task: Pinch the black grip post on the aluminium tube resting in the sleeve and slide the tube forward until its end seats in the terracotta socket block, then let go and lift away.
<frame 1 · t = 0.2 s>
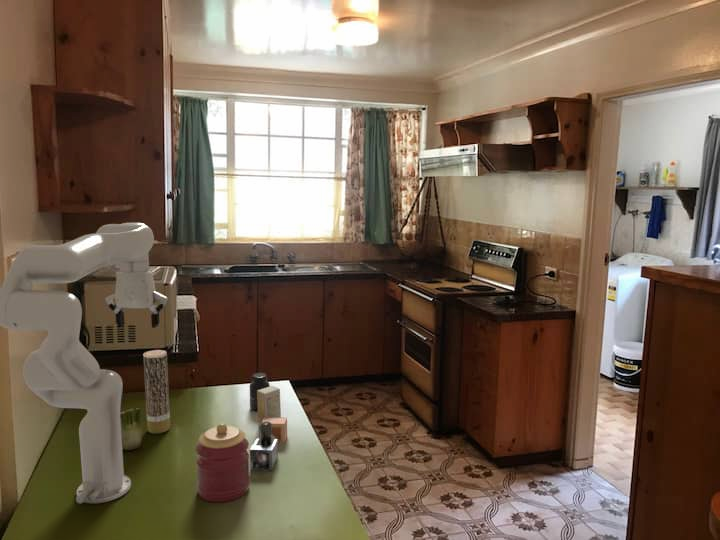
hand: (138, 326, 164), 37 cm above the table, tool pointing down, fingers open, 9 cm apart
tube: (266, 440, 162), point 5 cm above the table, slide at 0.0 cm
sleeve: (264, 463, 160), on the table
paper tube: (159, 430, 181), on the table
socket: (274, 439, 175), on the table
supplement bottle: (260, 408, 199), on the table
fennel bulb: (131, 449, 169), on the table
canister: (224, 490, 147), on the table
skincare box: (269, 426, 185), on the table
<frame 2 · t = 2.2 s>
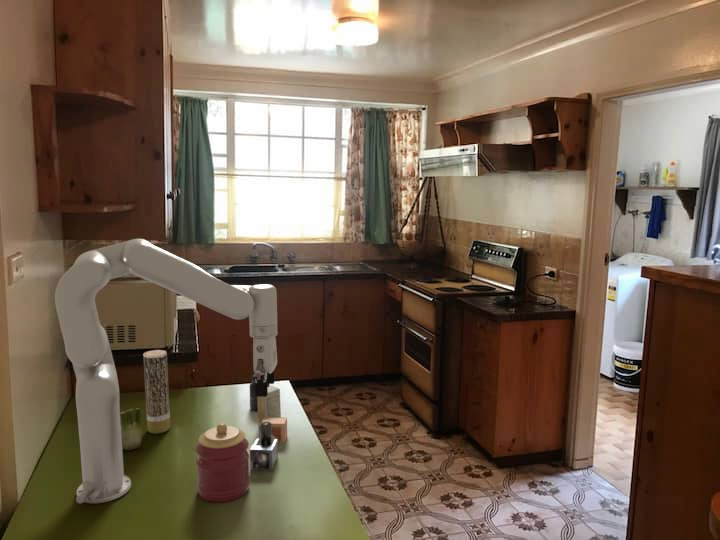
hand: (265, 389, 160), 20 cm above the table, tool pointing down, fingers open, 9 cm apart
nothing on the table moved.
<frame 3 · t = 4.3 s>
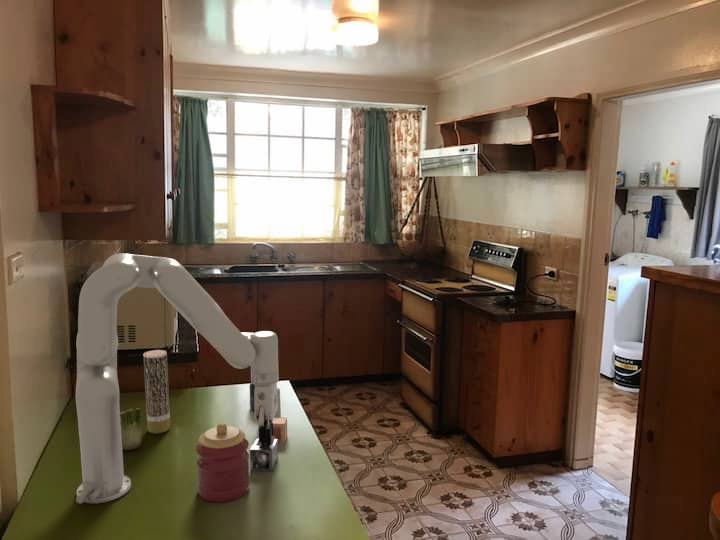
hand: (266, 438, 162), 6 cm above the table, tool pointing down, fingers closed on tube, 3 cm apart
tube: (266, 440, 162), point 5 cm above the table, slide at 0.0 cm, touching gripper
everything else where it was.
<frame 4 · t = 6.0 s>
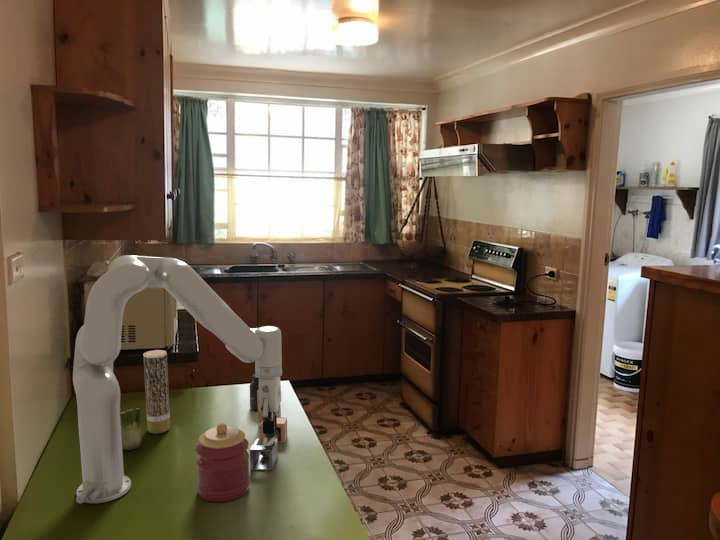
hand: (269, 430, 168), 6 cm above the table, tool pointing down, fingers closed on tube, 3 cm apart
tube: (269, 431, 168), point 5 cm above the table, slide at 5.4 cm, touching gripper
everything else where it was.
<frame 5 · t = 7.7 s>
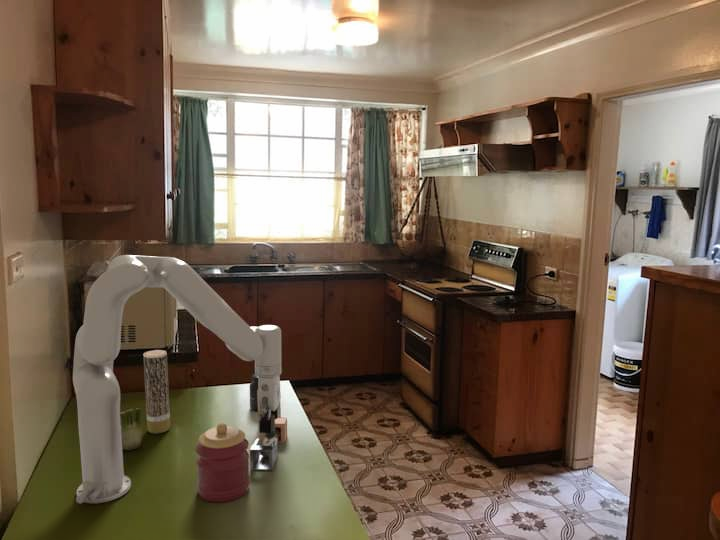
hand: (268, 425, 167), 7 cm above the table, tool pointing down, fingers open, 9 cm apart
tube: (269, 431, 168), point 5 cm above the table, slide at 5.5 cm
everything else where it was.
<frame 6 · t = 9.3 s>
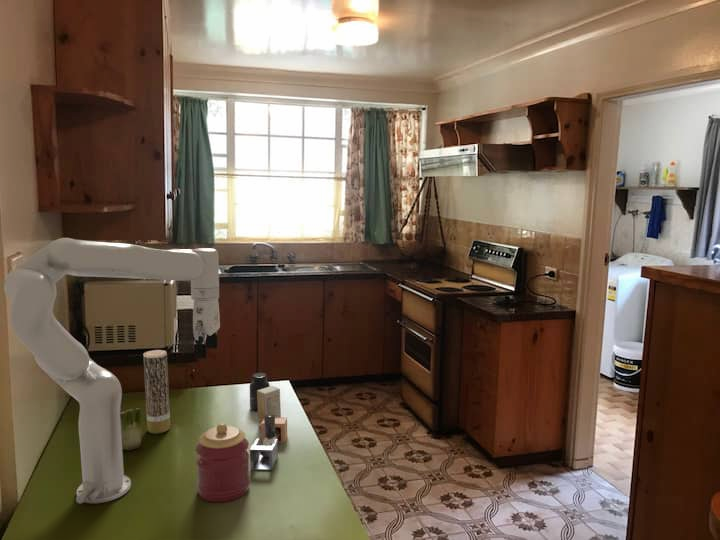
hand: (206, 352, 162), 30 cm above the table, tool pointing down, fingers open, 9 cm apart
nothing on the table moved.
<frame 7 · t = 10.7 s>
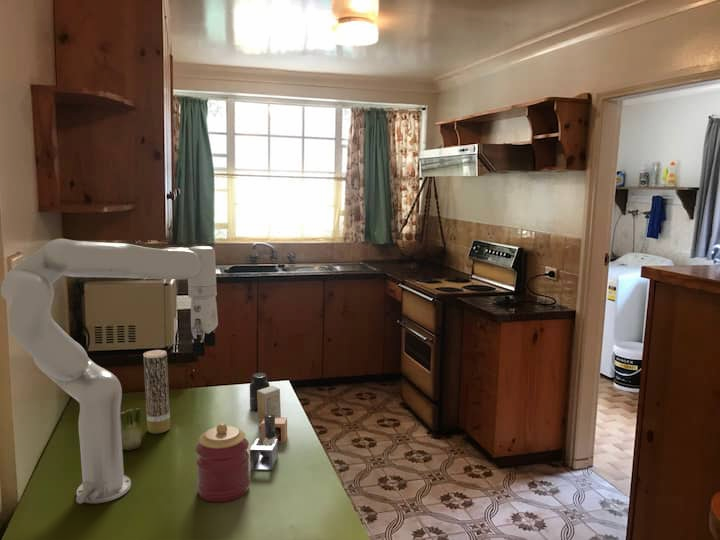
hand: (204, 350, 162), 30 cm above the table, tool pointing down, fingers open, 9 cm apart
nothing on the table moved.
at the end: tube slide at 5.5 cm; the gripper is holding nothing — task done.
